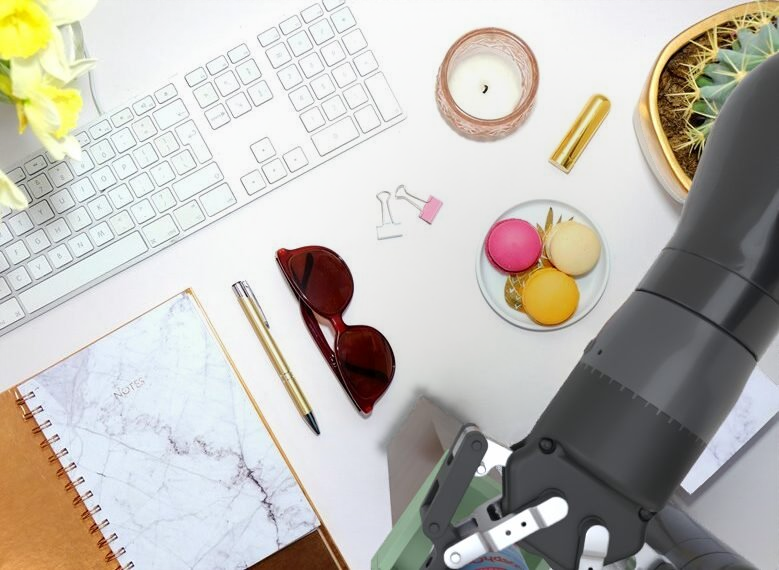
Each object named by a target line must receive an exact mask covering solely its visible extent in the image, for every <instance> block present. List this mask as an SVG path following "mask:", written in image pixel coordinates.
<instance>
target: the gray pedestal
mask: <svg viewBox="0 0 779 570" xmlns="http://www.w3.org/2000/svg"><path fill="white" fill-rule="evenodd" d="M463 425H465V423H462V422H461V421H459V420H458V419H457V418H455V417H453V416H452V415H451V414H449V413H448V412H446V411H445V410H443V409H442V408H440V407H439V406H438V405H437V404H435V403H433V402H431V400H429V399H428V398H426V397H425V396H420V398H419V400H418V401H417V402H416V404H415V405H414V407H413V408H412V409H411V411H410V412H409V414H408V415H407V417H406V418H405V419H404V421H403V422H402V424H401V426H400V427H399V428H398V430H397V431H396V433H395V434H394V436H393V437H392V438H391V440H390V442H389V443H388V445H387V446H386V458H387V459H386V460H387V475H388V487H389V488H388V489H389V501H390V517H391V530H392V529H393V527H394V526H395V524H396V523H397V521H398V520H399V519H400V517H401V516H402V514H403V513H404V511H405V510H406V508H407V507H408V506H409V504H410V503H411V501H412V500H413V498H414V497H415V495H416V494H417V492H418V491H419V490H420V488H421V487H422V485H423V484H424V482H425V481H426V479H427V478H428V477H429V475H430V474H431V472H432V471H433V469H434V468H435V466H436V465H437V464H438V462H439V461H440V459H441V458H442V456H443V455H444V453H445V452H446V450H447V449H450V448H451V446H452V444H453V442H454V440H455V438H456V436H457V434H458V432H459V430H460V429H461V427H462V426H463ZM486 475H488V476H489V477H491V478H492V479H493V480H495V481H496V482H498V483H499V484H501V485H502V473H501V472H500V470H499V469H498V467H497V466H495V467H493V468H491V469H490V471H489V472H488V473H487V474H486Z"/></svg>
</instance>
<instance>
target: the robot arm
mask: <svg viewBox="0 0 779 570" xmlns="http://www.w3.org/2000/svg"><path fill="white" fill-rule="evenodd" d="M778 335H779V51H778V52H776V53H774V54H772V55H770V56H768V57H767V58H765V59H764V60H762V61H761V62H760V63H758V64H757V65H756V66H755V67H753V68H752V69H751V70H750V71H749V72H747V74H746V75H745V76H743V77H742V79H740V80H739V82H738V83H737V84H736V85H735V87H734V88H733V89H732V90H731V92H730V93H729V94H728V96H727V97H726V98H725V100H724V102H723V104H722V106H721V108H720V110H719V111H718V113H717V114H716V116H715V118H714V121H713V123H712V125H711V128H710V130H709V133H708V135H707V138H706V140H705V144H704V147H703V149H702V152H701V155H700V158H699V160H698V164H697V167H696V170H695V173H694V176H693V178H692V182H691V184H690V187H689V189H688V192H687V195H686V197H685V199H684V203H683V206H682V210H681V213H680V216H679V219H678V222H677V225H676V226H675V230H674V232H673V234H672V235H671V237H670V238H669V239H668V241H667V242H666V244H665V245H664V246H663V248H662V249H661V251H660V252H659V254H658V255H657V256H656V257H655V259H654V260H653V262H652V263H651V265H650V267H649V268H648V269H647V271H646V272H645V274H644V275H643V277H642V278H641V279H640V280H639V282H638V284H637V285H636V287H634V291H632V292H631V294H630V295H629V296H628V297H627V299H626V300H624V302H623V303H622V304H621V305H620V306H619V308H617V310H616V311H615V312H614V313H613V314H612V315H611V316H610V318H609V319H608V320H606V322H605V323H604V324H603V326H602V327H601V329H600V330H599V332H598V333H597V334H596V336H595V337H594V338H593V339H591V340H590V341H589V342H588V343H587V345H586V346H585V348H584V350H583V354H582V356H581V357H580V359H579V360H578V362H577V363H576V365H575V366H574V367H573V369H572V370H571V372H570V373H569V375H568V376H567V378H566V379H565V380H564V382H563V383H562V384H561V386H560V387H559V389H558V390H557V392H556V393H555V395H554V396H553V398H552V399H551V400H550V402H549V403H548V405H547V406H546V408H545V409H544V411H543V412H542V413H541V415H540V416H539V418H538V419H537V421H536V422H535V424H534V425H533V427H532V429H531V430H530V432H529V433H528V434H527V435H526V436H525V437H524V438H522V439H521V440H519V441H517V442H515V443H513V444H512V445H510V446H508V445H506V444H505V443H503V442H501V441H499V440H496V439H495V438H492V437H491V436H489V435H487V434H486V433H485V434H484V433H483V431H482V430H481V429H480V427H479V426H478V425H477V424H476V423H473V422H466V423H464V425H463V426H462V427H461V429H460V430H459V432H458V434H457V436H456V438H455V440H454V442H453V444H452V446H451V448H450V450H449V452H448V454H447V456H446V457H445V459H444V461H443V463H442V465H441V467H440V469H439V471H438V473H437V475H436V477H435V479H434V481H433V483H432V485H431V486H430V488H429V490H428V492H427V494H426V496H425V498H424V500H423V502H422V504H421V506H420V509H419V512H420V518H421V523H422V529H423V533H424V534H425V536H426V537H428V538H430V540H431V541H432V543H433V544H434V548H433V550H432V551H431V553H430V554H429V556H428V557H427V558H426V560H425V561H424V563H423V564H422V566H421V567H420V569H419V570H458V569H459V568H461V567H463V566H465V565H467V564H469V563H470V562H472V561H474V560H476V559H478V558H479V557H481V556H483V555H485V554H486V553H489V552H492V553H496V552H499V551H501V550H503V549H505V548H507V547H508V546H510V545H512V544H514V543H515V544H516V545H517V546H519V547H520V548H522V549H523V550H525V551H526V552H528V553H531V554H534V555H536V556H539V557H542V558H543V559H544V560H545V561H546V562H547V564H548V565H549V566H550V567H551V568H550V569H551V570H604V569H603V568H604V567H606V566H609V565H611V564H612V565H613V564H614V565H615V567H617V569H618V570H761V569H760V568H759V567H758V566H756V564H754V563H752V562H751V561H750V560H749V559H748V558H746V557H745V556H743V555H742V554H741V553H739V552H738V551H737V550H735V549H734V548H733V547H731V546H730V545H729V544H727V543H726V542H725V541H724V540H722V539H720V537H718V536H717V535H715V533H712V532H711V531H710V530H709V529H708V528H706V527H705V526H703V524H701V523H700V522H698V521H697V520H696V519H694V518H693V517H691V516H690V515H689V514H688V513H687V512H685V511H684V510H682V509H681V508H680V507H679V506H678V505H676V504H675V503H674V502H672V500H671V499H672V497H673V496H674V495H675V493H676V491H678V488H679V487H680V486H681V484H682V483H683V482H684V480H685V478H686V477H687V476H688V475H689V472H691V470H692V469H693V467H694V466H695V464H696V463H697V461H698V460H699V458H700V457H701V455H702V454H703V453H704V451H705V450H706V449H707V447H708V445H709V444H710V443H711V441H712V440H713V438H714V437H715V436H716V434H717V433H718V432H719V430H720V428H721V427H722V426H723V424H724V423H725V421H726V420H727V418H728V417H729V415H730V414H731V412H732V411H733V409H734V408H735V407H736V405H737V403H738V402H739V399H740V397H741V396H742V394H743V392H744V389H745V387H746V385H747V383H748V382H749V379H750V378H751V376H752V374H753V372H754V370H755V369H756V367H757V365H758V363H759V362H760V361H761V359H762V358H763V357H764V355H765V354H766V353H767V351H768V349H769V348H770V347H771V346H772V344H773V342H774V341H775V339H777V337H778ZM495 466H496V467H501V475H502V493H501V494H499V495H497V496H496V497H494V498H492V499H490V500H488V501H487V502H485V503H483V504H481V505H480V506H478V507H476V508H475V509H474V510H473V512H472V513H471V514H470V515H469V516H467V517H465V518H464V519H462V520H460V521H458V522H456V523H455V524H453V525H452V523H451V522H450V521H451V520H452V518H453V516H454V514H455V512H456V510H457V508H458V506H459V504H460V502H461V500H462V498H463V496H464V494H465V493H466V491H467V489H468V487H469V485H470V483H471V481H472V479H473V477H474V476H476V477H482V476H485V475H486V474H487V473H488V472H489V471H490V469H491V468H493V467H495ZM496 510H497V511H496Z"/></svg>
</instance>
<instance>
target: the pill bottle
mask: <svg viewBox="0 0 779 570" xmlns="http://www.w3.org/2000/svg"><path fill="white" fill-rule="evenodd" d="M433 548H434V545H433V547H432V549H431V551H432V550H433ZM431 551H430V553H431ZM458 570H529V569H528V567H527V565H526V562H525V560H524V558H523V556H522V554H521V552H520V550H519V548H518V547H517V545H516V544H515V543H514V544H512V545H510V546H508V547H507V548H505V549H503V550H501V551H499V552H496V553H492V552H489V553H486V554H485V555H483V556H481V557H479V558H478V559H476V560H474V561H472V562H470V563H469V564H467V565H465V566H463V567H461V568H459V569H458Z"/></svg>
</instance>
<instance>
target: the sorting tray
mask: <svg viewBox="0 0 779 570" xmlns="http://www.w3.org/2000/svg"><path fill="white" fill-rule="evenodd" d="M449 450H450V449H447V450H446V452H445V453H444V455H443V456H442V458H441V459H440V461H439V462H438V464H437V465H436V466H435V468H434V469H433V471H432V472H431V474H430V475H429V477H428V478H427V479H426V481H425V482H424V484H423V485H422V487H421V488H420V490H419V491H418V492H417V494H416V495H415V497H414V498H413V500H412V501H411V503H410V504H409V506H408V507H407V508H406V510H405V511H404V513H403V514H402V516H401V517H400V519H399V520H398V521H397V523H396V524H395V526H394V527H393V529H392V528H391V530H390V532H389V533H388V534H387V535H386V537H385V539H384V540H383V542H382V543H381V544H380V546H379V547H378V549H377V550H376V552H375V553H374V555H373V556H372V557H371V559H370V570H419V569H420V567H421V566H422V564H423V563H424V561H425V560H426V558H427V557H428V556H429V554H430V551H431V549H432V547H433V545H434V544H433V543H432V541H431V540H430V538H428V537H426V536H425V534H424V533H423V529H422V523H421V518H420V512H419V509H420V506H421V504H422V502H423V500H424V498H425V496H426V494H427V492H428V490H429V488H430V486H431V485H432V483H433V481H434V479H435V477H436V475H437V473H438V471H439V469H440V467H441V465H442V463H443V461H444V459H445V457H446V456H447V454H448V452H449ZM501 493H502V485H501V484H499V483H498V482H496V481H495V480H493V479H492V478H491V477H489V476H488V475H485V476H482V477H476V476H474V477H473V479H472V481H471V483H470V485H469V487H468V489H467V491H466V493H465V494H464V496H463V498H462V500H461V502H460V504H459V506H458V508H457V510H456V512H455V514H454V516H453V518H452V520H451V521H450V522H451V523H452V525H453V524H455V523H456V522H458V521H460V520H462V519H464V518H465V517H467V516H469V515H470V514H471V513H472V512H473V510H474V509H475V508H476V507H478V506H480V505H481V504H483V503H485V502H487V501H488V500H490V499H492V498H494V497H496V496H497V495H499V494H501ZM496 511H497V510H496ZM517 547H518V548H519V550H520V552H521V554H522V556H523V558H524V560H525V562H526V565H527V567H528V569H529V570H550V569H552V568H551V567H550V566H549V565H548V564H547V562H546V561H545V560H544V559H543V558H542V557H539V556H536V555H534V554H531V553H528V552H526V551H525V550H523V549H522V548H520V547H519V546H517Z"/></svg>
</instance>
